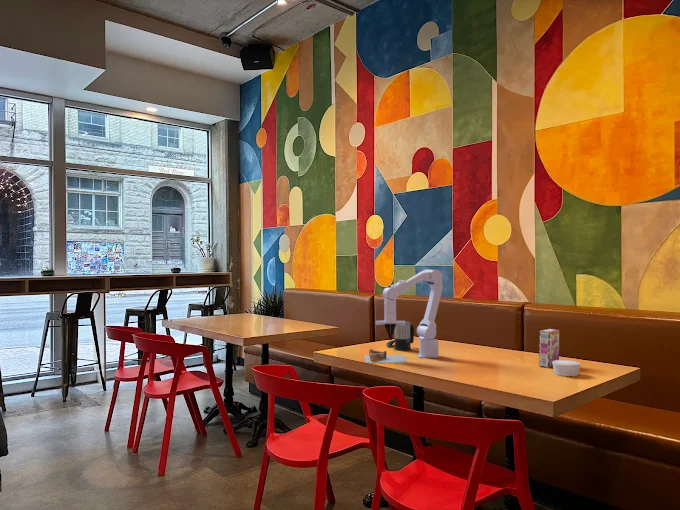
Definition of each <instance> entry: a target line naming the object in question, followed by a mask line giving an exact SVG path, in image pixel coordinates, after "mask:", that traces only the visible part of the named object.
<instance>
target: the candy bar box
mask: <svg viewBox="0 0 680 510" xmlns="http://www.w3.org/2000/svg"><path fill="white" fill-rule="evenodd" d="M538 345H539V346H538V348H539V351H538V354H539V357H538V360H539V361H538V364H539V365H538V367H540V368H545V369H550V368H553V364H552V361H555V360H560V329H555V328H548V329H543V330H539V344H538Z"/></svg>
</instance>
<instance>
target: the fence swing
mask: <svg viewBox="0 0 680 510" xmlns="http://www.w3.org/2000/svg"><path fill="white" fill-rule="evenodd" d="M379 359H384V353H378V354H373V353H370V361H374V360H379Z"/></svg>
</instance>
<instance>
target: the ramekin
mask: <svg viewBox="0 0 680 510" xmlns="http://www.w3.org/2000/svg"><path fill="white" fill-rule="evenodd" d="M552 364H553V367H552V368H553V373H554V374H555V375H556V374H557V375H556V376H559V375H561V376H560V377H565V376H576V377H577V376H579V374H580V368H581V363H580V362H579V361H575V360H569V359H568V360H567V359H559V360H555V361H552Z"/></svg>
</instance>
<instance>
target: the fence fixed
mask: <svg viewBox="0 0 680 510" xmlns="http://www.w3.org/2000/svg"><path fill="white" fill-rule="evenodd" d="M370 353H373V354H378V353H384V359H386V355H387V350H383V351H380V350H374V349H373V348H369V349H368V355H369V356H370Z"/></svg>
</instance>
